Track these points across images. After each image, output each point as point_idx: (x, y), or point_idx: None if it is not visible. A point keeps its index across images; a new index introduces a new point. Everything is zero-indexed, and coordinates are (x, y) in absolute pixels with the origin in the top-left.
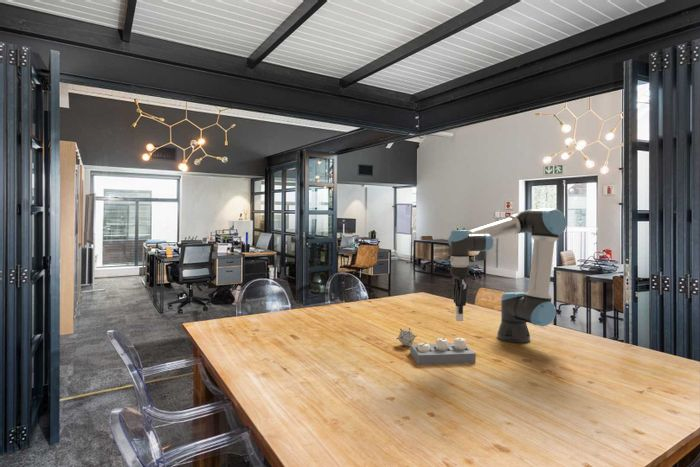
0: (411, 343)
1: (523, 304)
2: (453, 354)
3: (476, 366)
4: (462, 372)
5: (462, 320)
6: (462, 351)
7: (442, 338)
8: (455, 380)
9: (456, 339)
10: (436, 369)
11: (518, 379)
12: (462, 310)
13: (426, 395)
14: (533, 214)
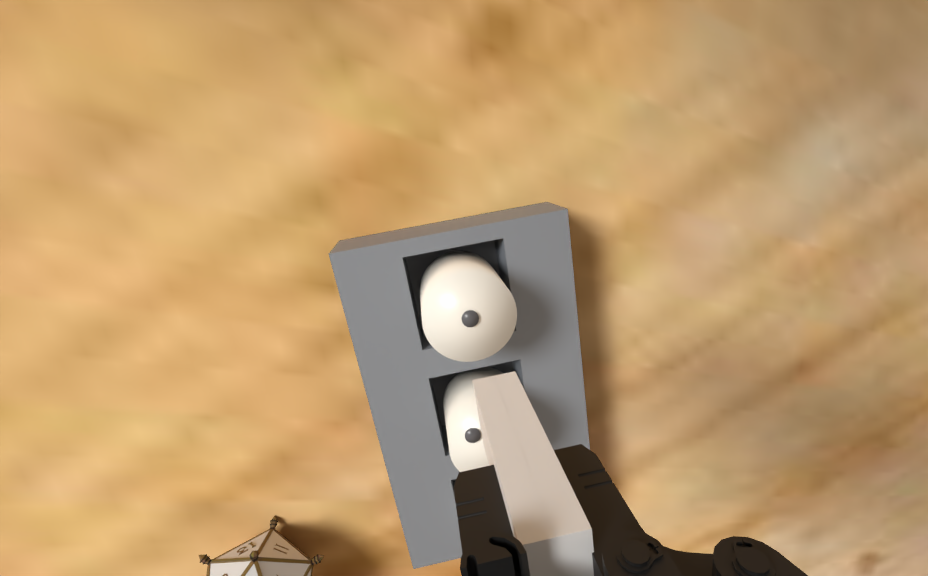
0: (286, 539)
1: None
2: (580, 352)
3: (602, 209)
4: (680, 302)
5: (516, 382)
6: (530, 290)
7: (453, 439)
8: (767, 348)
9: (471, 345)
10: (635, 416)
11: (805, 12)
12: (611, 485)
13: (874, 464)
14: None
